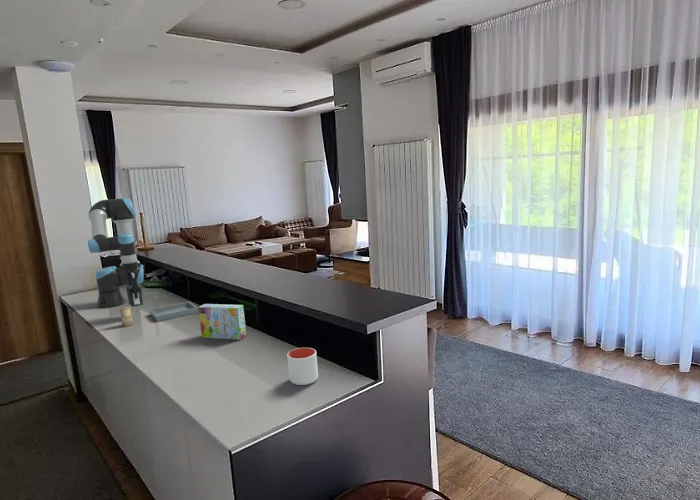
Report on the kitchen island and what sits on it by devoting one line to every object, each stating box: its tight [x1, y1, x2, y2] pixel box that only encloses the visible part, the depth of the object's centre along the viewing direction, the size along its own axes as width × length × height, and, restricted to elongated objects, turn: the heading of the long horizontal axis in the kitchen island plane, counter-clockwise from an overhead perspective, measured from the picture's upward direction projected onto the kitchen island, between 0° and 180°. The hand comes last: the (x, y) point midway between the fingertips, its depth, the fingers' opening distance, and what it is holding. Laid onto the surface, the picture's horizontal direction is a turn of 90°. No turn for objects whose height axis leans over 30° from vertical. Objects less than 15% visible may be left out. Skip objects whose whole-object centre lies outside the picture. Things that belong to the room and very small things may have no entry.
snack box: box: [197, 303, 247, 341], centre depth 204 cm, size 21×6×15 cm, turn 71°
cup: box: [286, 347, 319, 386], centre depth 155 cm, size 10×10×10 cm
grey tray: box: [149, 301, 199, 323], centre depth 249 cm, size 18×22×3 cm
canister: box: [119, 306, 134, 328], centre depth 233 cm, size 5×5×9 cm
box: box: [125, 284, 144, 308], centre depth 247 cm, size 8×6×11 cm
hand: (135, 302), depth 247 cm, fingers closed on box, 8 cm apart
